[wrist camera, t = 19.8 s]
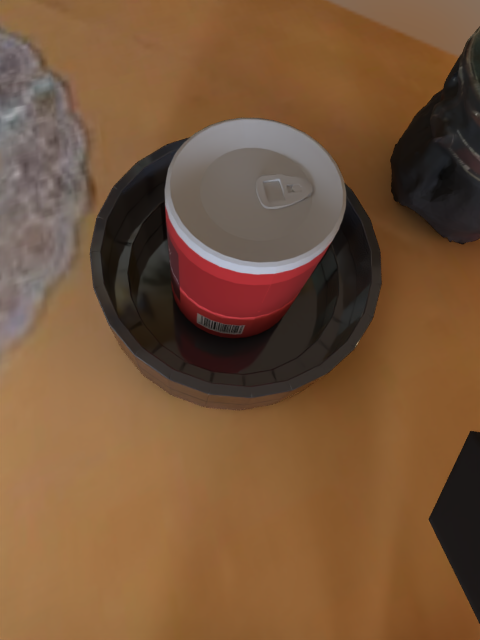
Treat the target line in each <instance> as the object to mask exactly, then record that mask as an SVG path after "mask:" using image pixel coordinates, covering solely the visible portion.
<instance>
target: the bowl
mask: <svg viewBox="0 0 480 640" xmlns="http://www.w3.org/2000/svg"><path fill="white" fill-rule="evenodd" d="M189 138H190V137H189ZM189 138H186V139H183V140H179V141H176V142H173V143H170V144H167V145H165V146H163V147H161V148H160V149H158V150H157V151H155V152H153V153H152V154H150V155H148V156H147V157H145V158H143V159H142V160H140V161H138V162H137V163H136V164H135V165H134V166H133V167H132V168H131V169H130V170H129V171H128V172H127V173H126V174H125V175H124V176H123V177H122V178H121V179H120V180H119V181H118V182H117V183H116V184H115V185H114V187H113V188H112V190H111V192H110V193H109V195H108V197H107V199H106V201H105V203H104V205H103V207H102V208H101V210H100V212H99V214H98V216H97V218H96V223H95V228H94V233H93V238H92V243H91V248H90V260H91V269H92V279H93V288H94V291H95V294H96V296H97V298H98V301H99V303H100V305H101V308H102V310H103V312H104V315H105V317H106V320H107V322H108V324H109V326H110V328H111V330H112V332H113V334H114V336H115V338H116V339H117V341H118V343H119V345H120V347H121V349H122V350H123V351H124V353H125V354H126V355H127V356H128V358H129V359H130V360H131V361H132V363H133V364H134V365H135V366H136V367H137V369H138V370H139V371H140V372H141V374H143V376H145V377H146V378H148V379H149V380H150V381H152V382H153V383H155V384H156V385H157V386H159V387H160V388H162V389H163V390H164V391H166V392H167V393H169V394H170V395H172V396H175V397H177V398H180V399H183V400H186V401H188V402H191V403H194V404H197V405H199V406H202V407H206V408H216V409H228V410H246V409H251V408H257V407H262V406H267V405H273V404H276V403H278V402H280V401H282V400H284V399H286V398H288V397H290V396H292V395H294V394H296V393H298V392H300V391H302V390H304V389H306V388H307V387H309V386H310V385H311V384H313V383H314V382H316V381H317V380H319V379H320V378H322V377H323V376H325V375H326V374H328V373H329V372H330V371H331V370H332V369H333V368H334V367H335V366H336V365H338V364H339V363H340V362H341V361H342V360H343V359H344V358H345V357H346V356H347V355H349V354H350V353H351V352H352V351H353V350H354V349H355V348H356V346H357V344H358V343H359V341H360V339H361V338H362V336H363V334H364V333H365V331H366V329H367V328H368V326H369V324H370V323H371V321H372V319H373V317H374V313H375V309H376V305H377V301H378V297H379V293H380V289H381V284H382V281H381V256H380V249H379V245H378V242H377V239H376V236H375V233H374V230H373V227H372V223H371V220H370V218H369V216H368V215H367V213H366V212H365V210H364V208H363V207H362V205H361V204H360V202H359V200H358V199H357V197H356V196H355V194H354V192H353V191H352V190H351V189H350V188H349V187H348V186H347V185H346V184H345V183H344V184H345V189H346V208H345V212H344V216H343V219H342V222H341V224H340V227H339V230H338V232H337V233H336V235H335V237H334V239H333V241H332V242H331V244H330V245H329V247H328V249H327V251H326V252H325V254H324V256H323V257H322V259H321V260H320V262H319V263H318V265H317V266H316V268H315V269H314V271H313V272H312V274H311V276H310V277H309V279H308V280H307V282H306V283H305V285H304V286H303V288H302V289H301V291H300V292H299V294H298V295H297V297H296V299H295V300H294V302H293V303H292V305H291V306H290V308H289V309H288V311H287V312H286V314H285V315H284V316H283V317H282V318H281V319H280V321H279V322H278V323H276V324H275V325H274V326H272V327H271V328H270V329H268V330H266V331H264V332H262V333H259V334H257V335H253V336H249V337H243V338H226V337H219V336H216V335H213V334H209V333H208V332H206V331H204V330H202V329H200V328H198V327H197V326H195V325H194V324H193V323H192V322H190V321H189V320H188V319H187V318H186V317H185V315H184V314H183V313H182V312H181V311H180V309H179V307H178V305H177V303H176V302H175V299H174V295H173V292H172V284H171V272H170V261H169V249H168V237H167V226H166V211H165V186H166V178H167V173H168V168H169V166H170V164H171V161H172V159H173V157H174V155H175V153H176V152H177V151H178V150H179V148H180V147H181V146H182V144H183V143H184V142H185V141H187V140H188V139H189Z"/></svg>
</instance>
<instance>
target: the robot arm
mask: <svg viewBox="0 0 480 640" xmlns="http://www.w3.org/2000/svg"><path fill="white" fill-rule="evenodd" d="M429 521H430V523H431V525H432V527H433V529H434V531H435V534H436V536H437V538H438V540H439V542H440V544H441V546H442V548H443V550H444V552H445V554H446V556H447V558H448V560H449V562H450V564H451V566H452V568H453V570H454V572H455V574H456V576H457V578H458V581H459V583H460V585H461V587H462V589H463V591H464V593H465V595H466V597H467V599H468V601H469V603H470V605H471V607H472V609H473V611H474V613H475V615H476V617H477V619H478V621H479V623H480V432H474V431H470V433H469V435H468V437H467V439H466V441H465V444H464V446H463V448H462V450H461V452H460V454H459V456H458V458H457V460H456V463H455V465H454V467H453V469H452V471H451V473H450V475H449V477H448V479H447V482H446V484H445V486H444V488H443V490H442V492H441V494H440V496H439V498H438V501H437V503H436V505H435V507H434V509H433V511H432V513H431V515H430V517H429Z"/></svg>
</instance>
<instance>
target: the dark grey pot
mask: <svg viewBox="0 0 480 640" xmlns="http://www.w3.org/2000/svg"><path fill="white" fill-rule="evenodd" d="M390 162H391V169H392V182H391V187H392V188H391V192H392V193H393V196H394V200H395V201H396V202H399V203H400V204H401V205H403V206H407V207H409V208H410V209H412V210H414V211H415V212H417V213H418V214H419V215H420V216H422V217H423V218H424V219H425V220H426V221H427V222H428V223H429V224H430V225H431V226H432V227H433V228H434V229H435V230H436V231H437V232H438V233H439V234H440V235H441V236H442V237H447V238H448V240H449V242H451V241H452V240H453V241H454V242H457V243H460V244H464V243H466V242H472V241H476V240H478V239H480V27H479V28H478V29H477V30H476V31H475V33H474V34H473V35H472V36H471V37H470V38H469V39H468V41H467V43H466V45H465V47H464V50H463V52H462V54H461V55H460V57H459V58H458V60H457V62H456V63H455V65H454V67H453V68H452V70H451V72H450V73H449V75H448V77H447V79H446V81H445V83H444V88H443V89H442V90H441V91H440V92H438V93H437V94H436V95H434V96H433V97H432V98H431V100H430V101H429V102H428V104H427V105H426V106H424V107H423V108H422V109H421V110H420V111H419V112H418V113H417V114H416V116H415V117H414V118H413V120H412V122H411V123H410V125H409V127H408V128H407V130H406V131H405V132H404V134H403V135H402V137H401V138H400V139H399V141H398V143H397V144H395V147H394V151H393V154H392V156H391V159H390Z"/></svg>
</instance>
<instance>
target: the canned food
mask: <svg viewBox="0 0 480 640" xmlns="http://www.w3.org/2000/svg"><path fill="white" fill-rule="evenodd" d="M345 208H346V189H345V184H344V179H343V177H342V174H341V172H340V170H339V168H338V165H337V164H336V162H335V161H334V160H333V158H332V157H331V155H330V154H329V153H328V152H327V151H326V150H325V149H324V148H323V147H322V146H321V145H320V144H319V143H318V142H317V141H316V140H314V139H313V138H312V137H310V136H309V135H307V134H306V133H304V132H302V131H300V130H298V129H296V128H294V127H292V126H290V125H287V124H284V123H281V122H277V121H274V120H268V119H262V118H237V119H230V120H224V121H221V122H218V123H215V124H212V125H209V126H207V127H206V128H204V129H202V130H200V131H198V132H197V133H195V134H194V135H193V136H191V137H190V138H189V139H188V140H187V141H185V142H184V143H183V144H182V146H181V147H180V148H179V150H178V151H177V152H176V153H175V155H174V157H173V159H172V161H171V164H170V166H169V168H168V173H167V178H166V186H165V211H166V226H167V237H168V249H169V261H170V272H171V284H172V292H173V295H174V299H175V302H176V303H177V305H178V307H179V309H180V311H181V312H182V313H183V314H184V315H185V317H186V318H187V319H188V320H189V321H190V322H192V323H193V324H194V325H195V326H197V327H198V328H200V329H202V330H204V331H206V332H208V333H209V334H213V335H216V336H219V337H226V338H243V337H249V336H253V335H257V334H259V333H262V332H264V331H266V330H268V329H270V328H271V327H272V326H274V325H275V324H276V323H278V322H279V321H280V319H281V318H282V317H283V316H284V315H285V314H286V312H287V311H288V309H289V308H290V306H291V305H292V303H293V302H294V300H295V299H296V297H297V295H298V294H299V292H300V291H301V289H302V288H303V286H304V285H305V283H306V282H307V280H308V279H309V277H310V276H311V274H312V272H313V271H314V269H315V268H316V266H317V265H318V263H319V262H320V260H321V259H322V257H323V256H324V254H325V252H326V251H327V249H328V247H329V245H330V244H331V242H332V241H333V239H334V237H335V235H336V233H337V232H338V230H339V227H340V224H341V222H342V219H343V216H344V212H345Z"/></svg>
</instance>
